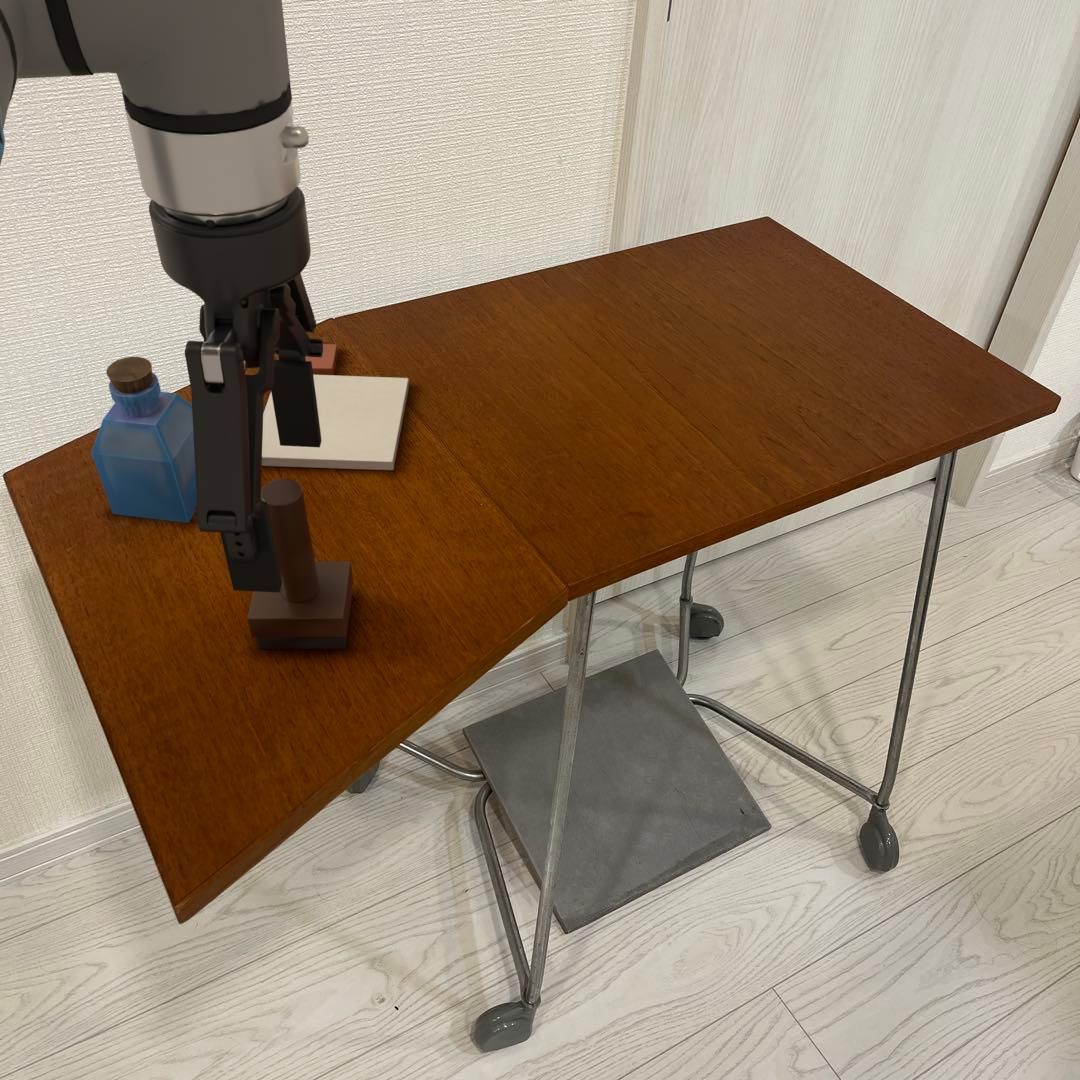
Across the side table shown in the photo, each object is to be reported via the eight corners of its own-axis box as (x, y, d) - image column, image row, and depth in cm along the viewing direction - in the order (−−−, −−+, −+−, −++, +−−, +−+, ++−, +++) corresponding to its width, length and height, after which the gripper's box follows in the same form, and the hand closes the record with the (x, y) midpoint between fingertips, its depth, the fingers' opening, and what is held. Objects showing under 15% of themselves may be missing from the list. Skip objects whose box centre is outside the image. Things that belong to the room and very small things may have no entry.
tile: (249, 465, 84) (247, 456, 84) (278, 381, 93) (277, 372, 92) (393, 470, 85) (392, 461, 84) (409, 386, 93) (408, 377, 93)
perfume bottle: (145, 464, 84) (107, 341, 76) (217, 472, 84) (186, 349, 75) (113, 513, 80) (68, 389, 71) (188, 523, 79) (152, 398, 71)
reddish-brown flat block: (290, 378, 94) (288, 367, 93) (296, 354, 97) (294, 343, 96) (333, 378, 94) (332, 368, 93) (338, 354, 97) (336, 343, 96)
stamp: (255, 652, 70) (221, 520, 62) (267, 594, 74) (237, 463, 65) (348, 651, 71) (327, 520, 62) (355, 594, 74) (337, 463, 66)
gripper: (245, 332, 41) (304, 664, 56) (342, 99, 59) (367, 397, 74) (58, 323, 41) (166, 658, 56) (212, 92, 59) (263, 391, 74)
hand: (281, 510), depth 65 cm, fingers open, 13 cm apart
